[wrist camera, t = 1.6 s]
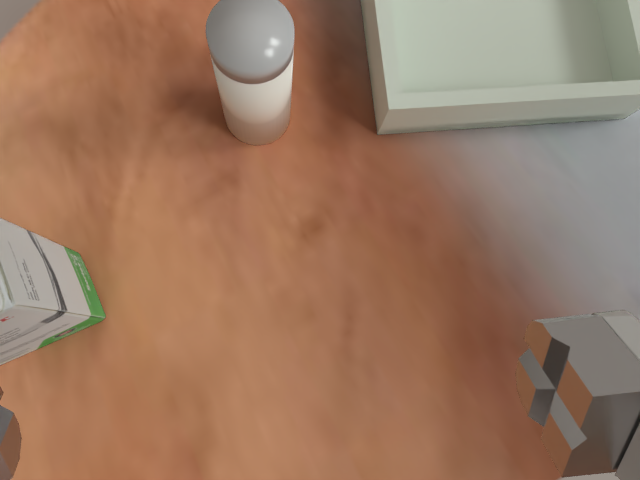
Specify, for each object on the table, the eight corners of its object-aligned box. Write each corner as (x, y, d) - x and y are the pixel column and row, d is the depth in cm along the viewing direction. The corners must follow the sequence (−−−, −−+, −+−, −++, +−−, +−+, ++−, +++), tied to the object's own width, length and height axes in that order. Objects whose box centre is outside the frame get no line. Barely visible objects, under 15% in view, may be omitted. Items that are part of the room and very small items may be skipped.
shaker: (287, 82, 38) (290, -11, 28) (292, 143, 37) (298, 68, 27) (222, 86, 37) (203, -8, 28) (227, 147, 36) (208, 72, 27)
